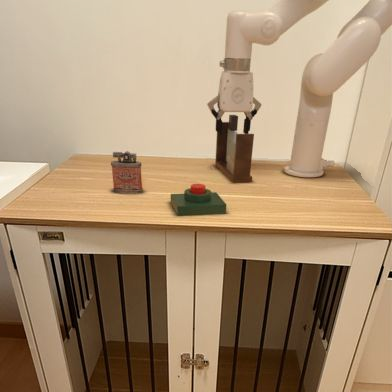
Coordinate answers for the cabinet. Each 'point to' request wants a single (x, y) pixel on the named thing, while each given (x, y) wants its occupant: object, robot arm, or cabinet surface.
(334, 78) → the robot arm
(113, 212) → the cabinet surface
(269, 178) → the cabinet surface
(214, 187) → the cabinet surface
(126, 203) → the cabinet surface
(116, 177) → the lighter
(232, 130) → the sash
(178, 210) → the alarm box
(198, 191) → the button
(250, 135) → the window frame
